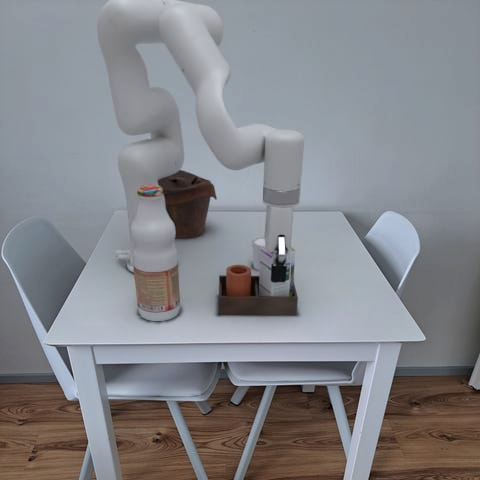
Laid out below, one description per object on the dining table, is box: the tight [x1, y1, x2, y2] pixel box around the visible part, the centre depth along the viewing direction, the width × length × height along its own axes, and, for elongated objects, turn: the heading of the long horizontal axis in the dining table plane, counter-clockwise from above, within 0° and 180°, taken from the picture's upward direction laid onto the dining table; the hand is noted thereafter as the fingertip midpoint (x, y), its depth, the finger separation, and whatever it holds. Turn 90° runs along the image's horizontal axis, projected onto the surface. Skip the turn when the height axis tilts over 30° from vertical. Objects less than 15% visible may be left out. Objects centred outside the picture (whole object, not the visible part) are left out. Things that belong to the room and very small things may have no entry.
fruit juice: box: [131, 185, 181, 322], centre depth 104 cm, size 9×9×28 cm
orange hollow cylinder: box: [225, 264, 252, 296], centre depth 112 cm, size 6×6×9 cm
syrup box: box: [258, 246, 296, 297], centre depth 110 cm, size 6×6×14 cm
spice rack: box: [218, 274, 299, 316], centre depth 113 cm, size 17×9×6 cm, turn 91°
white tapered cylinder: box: [251, 237, 265, 271], centre depth 130 cm, size 7×7×7 cm
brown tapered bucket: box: [158, 169, 218, 239], centre depth 148 cm, size 18×20×18 cm
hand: (276, 272), depth 110 cm, fingers closed on syrup box, 7 cm apart
